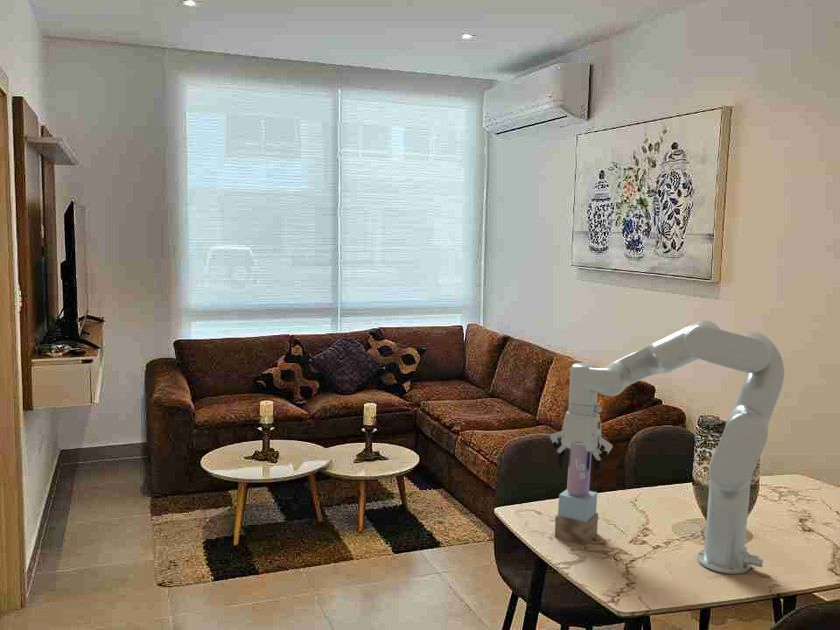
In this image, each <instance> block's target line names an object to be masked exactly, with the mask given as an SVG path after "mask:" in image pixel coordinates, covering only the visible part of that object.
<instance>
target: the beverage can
mask: <svg viewBox="0 0 840 630" xmlns="http://www.w3.org/2000/svg"><path fill="white" fill-rule="evenodd" d="M568 450H569V451H568V465H567V466H568V468H567V481H566V482H567V483H566V484H567V485H566V489H567V492H568V493H569V494H570V495H572V496H576V497H584V496H587V495H588V493H589V491H590V483H591V468H592V455H593V453H592V452H587V451H586V447H585V446H584V443H576V442H573V443H572V444H571V447H570V449H569V448H568Z"/></svg>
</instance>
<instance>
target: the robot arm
mask: <svg viewBox="0 0 840 630" xmlns="http://www.w3.org/2000/svg"><path fill="white" fill-rule="evenodd" d="M697 360H702V361H705V362H707V363H710V364H714V365H718V366H721V367H725V368H729V369H731V370H735V371H739V372H743V373H746V375H745V378H744V381H743V384H742V386H741V388H740V389H741V390H740V392H739V395H738V397H737V399H736V402H735V403H734V406H733V408H732V411H731V412H730V414H729V415H728V417H727V420H726V423H725V427H724V429H723V432H722V433H721V434H722V435H721V437H720V439H719V442H718V444H717V446H716V447H715V448H714V450H713V452H712V454H711V457H710V463H709V465H708V475H709V478H710V479H709V487H708V497H707V498H708V500H707V501H708V502H707V509H706V511H707V513H706V521H705V522H706V523H705V524H706V525H705V537H704V549H702V550H699V551H698V553H697V558H696V559H697V561H698V562H699V564H701V565H702V566H703V567H705V568H707V569H709V570H711V571H715V572H717V573H718V572H719V573H723V574H730V575H732V574H733V575H738V574H745V573H746V572H748V571H749V570H750V568H751V565H752V566H754V567H757V568H758V567H759V568H763V566H764V565H763V564H764V559H762V558H760V556H759V555H757V554H750V552H748V546H746V539H747V538H746V537H747V524H748V515H749V504H750V492H751V484H752V483H751V482H752V476H753V475H754V471H755V469H756V467H757V465H758V463H759V461H760V457H761V456H762V454H763V452H764V448H765V447H766V444H767V441H768V437H769V426H770V425H769V424H770V420H771V418H772V415H773V412H774V410H775V409H776V405H777V401H778V400H779V396H780V395H781V394H780V393H781V391H782V388H783V385H784V380H785V379H784V378H785V367H784V360H783V358H782V355H781V353H780V351H779V349H778V348H777V346H776V345H775V344H774V343H773V341H772V340H770V338H768V337H767V336H766V335H764V334H762V333H759V332H755V331H753V332H751V331H750V332H747V333H744V334H738V333H734V332H731V331H727V330H724V329H721V328H720V327H719V326H718V325H717V324H716V323H715V322H712V321H710V320H701V321H697V322H695V323H692V324H690V325H688V326H686V327H683V328H682V329H679V330H677V331H675V332H672V333H671V334H669V335H666V336H665V337H662V338H661V339H658V340H656V341H653V342H652V343H649V344H648V345H646V346H645V347H643V348H641V349H639V350H637V351H635V352H632V353H630V354H628V355H626V356H624V357H621V358H619V359H617V360H615V361H613V362H611V363H610V364H608V365H606V366H605V367H602V368H601V367H598V366H597V364H594V363H590V362H575V363H573V364H572V365H571V366H570V370H569V371H570V372H569V373H570V375H569V389H568V390H569V392H568V393H569V394H568V408H567V409H568V410H567V411H566V412H565V415H564V418H563V419H564V420H563V422H562V423H563V424H562V430H560V431H558V432H554V433H552V434H551V435H549V438H550V441H551V443H552V446H553V447H554V448H555V450H556V452H557V453H558V455H557V456H558V457H557V458H558V460H557V463H558V464H559V466H558V467H559V469H560V468H564V466H566V463H567V462H566V460H567V451H566V450H567V449H568V450H569V449H570V447H571V444H572V443H573V442H576V443H584V446H585V447H586V451H587V452H592V455H593V456H594V458H595V459H594V460H593V471H592V472H593V474H594V475H597V474H598V473H599V472H601V470H602V462H603V461H602V459H603V458H605V457H606V456H608V455H609V453H610V451H611V450H612V449H613V444H612V443H610V441H608V440H606V439H605V438H603V437H602V424H601V423H602V422H601V415H600V414H599V413H602V411H603V407H602V406H601V407H600V406H599V405H598V404H599V403H598V394H600V395H603V396H608V397H615V396H618V395H620V394H621V393H622V392H623V391H624V390H626V388H627V387H628V386H630V385H632V384H635V383H637V382H639V381H641V380H643V379H646V378H648V377H650V376H654V375H658V374H667V373H671V372H672V371H675V370H677V369H679V368H682V367H684V366H686V365H688V364H690V363H692V362H695V361H697ZM558 438H561V441H560V442H559V441H558ZM602 446H603V447H604V449H603V451H601V450H600V449H601V447H602Z"/></svg>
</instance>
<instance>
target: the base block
mask: <svg viewBox="0 0 840 630" xmlns="http://www.w3.org/2000/svg"><path fill="white" fill-rule="evenodd" d="M598 520H599V513H598V512H596V514H595V515H594V516H593V517H592V518H591V519H589V520H588V521H587V522H582V521H577V520H573V519H569V518H565V517H561V516H558V514H556V516H555V525H554V526H555V527H554V537H555V538H558V539H562V540H565V541H569V542H570V541H571V542H575V543H579V544H583V545H585V546H586V545H588V544H589V543H590V542H591V540H592V539H593V538H594V537H595V536H596V535H597V534H598Z"/></svg>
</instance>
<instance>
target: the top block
mask: <svg viewBox="0 0 840 630" xmlns="http://www.w3.org/2000/svg"><path fill="white" fill-rule="evenodd" d="M597 500H598V492H597V491H592V490H589V493H588V495H587V496H584V497H576V496H572V495H570V494H569V493H568V492H567V488H566V489H565V490H564V491H562V492H561V493H559V495H558V508H557V510H558V511H557V513H558V514H557V515H558V516H561V517H565V518H569V519H573V520H577V521H582V522H587V521H588V520H589V519H591V518H592V517H593V516H594V515H595V514H596V513H597V506H598V501H597Z"/></svg>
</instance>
